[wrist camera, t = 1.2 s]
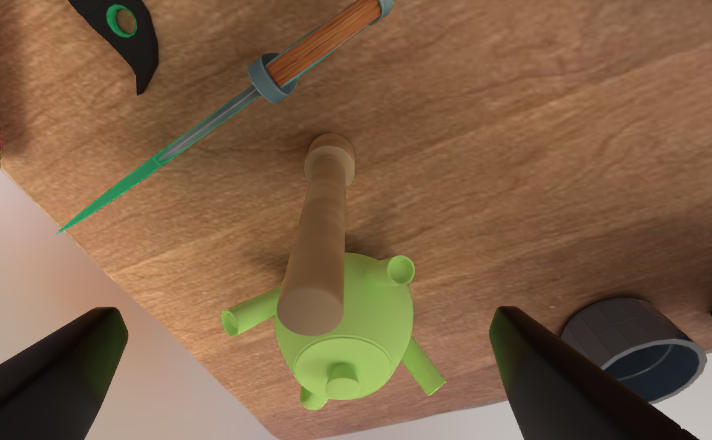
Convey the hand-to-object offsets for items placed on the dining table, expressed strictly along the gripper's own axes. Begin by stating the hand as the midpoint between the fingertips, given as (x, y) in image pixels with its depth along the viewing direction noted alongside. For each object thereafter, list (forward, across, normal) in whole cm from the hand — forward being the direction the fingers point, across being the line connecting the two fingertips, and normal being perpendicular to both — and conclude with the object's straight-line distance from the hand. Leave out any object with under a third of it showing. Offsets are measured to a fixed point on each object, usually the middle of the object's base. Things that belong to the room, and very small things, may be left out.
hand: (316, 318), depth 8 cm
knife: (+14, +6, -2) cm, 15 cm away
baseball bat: (+14, 0, +1) cm, 14 cm away
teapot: (+14, -2, +10) cm, 17 cm away
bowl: (+13, -24, +15) cm, 31 cm away
